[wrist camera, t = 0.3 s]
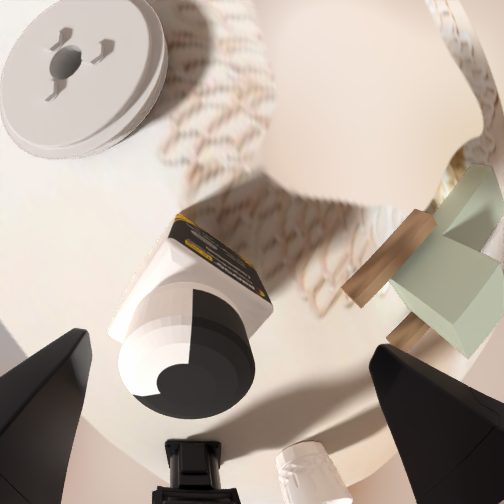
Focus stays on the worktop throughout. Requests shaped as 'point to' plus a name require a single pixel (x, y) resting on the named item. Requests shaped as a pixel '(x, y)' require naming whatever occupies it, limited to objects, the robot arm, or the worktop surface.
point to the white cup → (310, 476)
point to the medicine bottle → (189, 324)
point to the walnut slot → (386, 266)
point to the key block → (458, 265)
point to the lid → (83, 77)
